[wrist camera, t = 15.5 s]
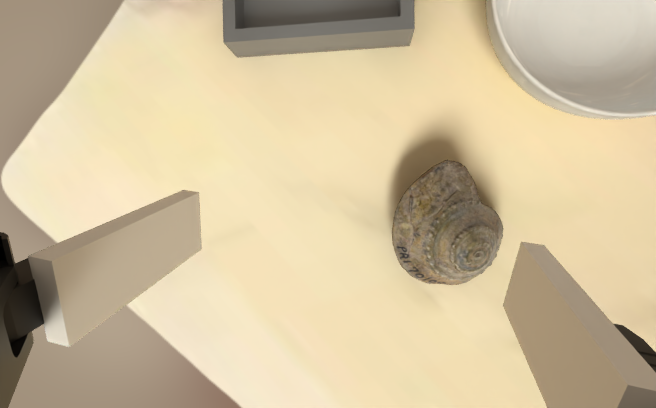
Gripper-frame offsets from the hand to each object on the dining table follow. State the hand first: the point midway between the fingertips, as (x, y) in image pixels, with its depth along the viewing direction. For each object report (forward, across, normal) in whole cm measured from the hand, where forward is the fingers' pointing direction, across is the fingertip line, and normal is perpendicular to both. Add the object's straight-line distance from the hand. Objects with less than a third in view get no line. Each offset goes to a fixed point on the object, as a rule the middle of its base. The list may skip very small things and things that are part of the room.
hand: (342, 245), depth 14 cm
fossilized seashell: (+22, +7, -6) cm, 23 cm away
